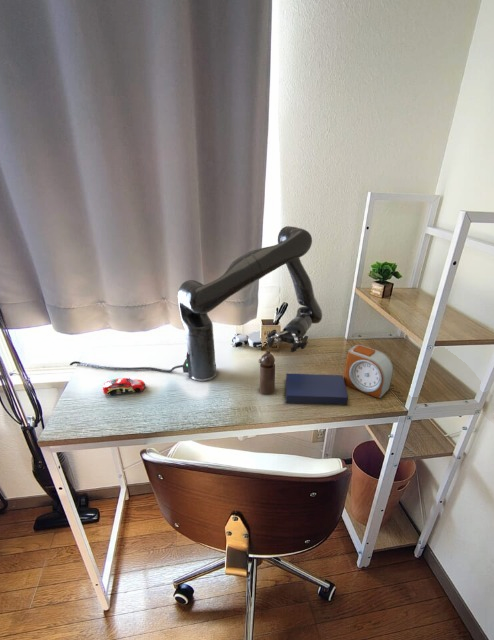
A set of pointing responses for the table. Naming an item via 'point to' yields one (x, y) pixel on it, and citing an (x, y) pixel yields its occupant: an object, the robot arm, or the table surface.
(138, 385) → the race car
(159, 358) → the table surface
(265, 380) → the pepper mill
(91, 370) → the table surface
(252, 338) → the robot toy
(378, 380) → the alarm clock
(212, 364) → the robot arm
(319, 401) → the book
